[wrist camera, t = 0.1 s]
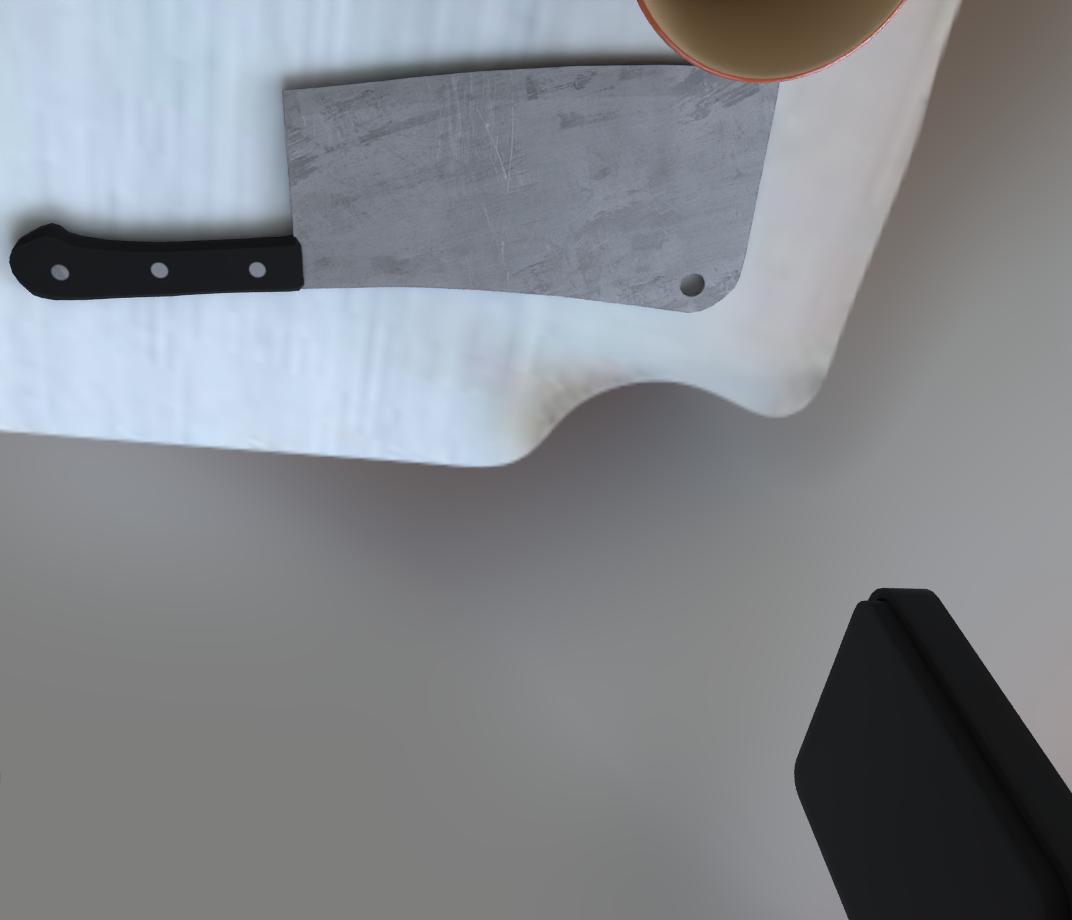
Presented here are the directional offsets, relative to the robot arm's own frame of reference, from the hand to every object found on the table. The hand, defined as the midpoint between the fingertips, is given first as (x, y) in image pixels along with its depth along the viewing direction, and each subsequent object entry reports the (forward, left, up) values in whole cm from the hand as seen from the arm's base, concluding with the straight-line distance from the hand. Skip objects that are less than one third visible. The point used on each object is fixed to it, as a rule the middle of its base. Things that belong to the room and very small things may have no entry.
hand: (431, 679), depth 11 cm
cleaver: (+5, 0, -31) cm, 32 cm away
